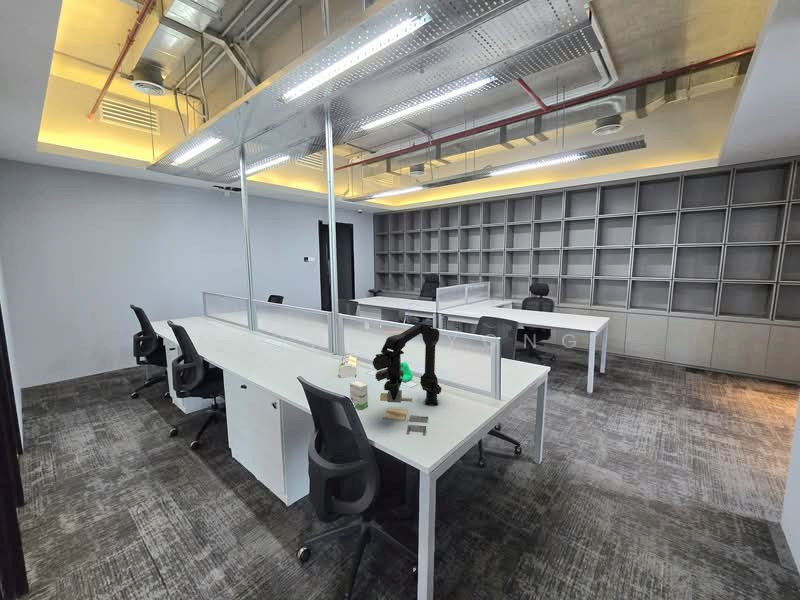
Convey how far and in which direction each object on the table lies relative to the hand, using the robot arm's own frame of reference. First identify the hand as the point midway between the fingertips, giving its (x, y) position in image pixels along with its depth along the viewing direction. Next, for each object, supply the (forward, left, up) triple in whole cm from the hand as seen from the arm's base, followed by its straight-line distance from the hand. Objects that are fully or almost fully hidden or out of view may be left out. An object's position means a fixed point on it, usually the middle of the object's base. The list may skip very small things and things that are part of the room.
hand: (394, 397), depth 150 cm
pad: (-5, 0, -11) cm, 12 cm away
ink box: (-11, -20, -11) cm, 25 cm away
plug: (0, 0, -1) cm, 1 cm away
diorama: (-61, -42, -11) cm, 75 cm away
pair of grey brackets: (+4, +11, -11) cm, 16 cm away
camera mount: (-52, -5, -11) cm, 54 cm away
